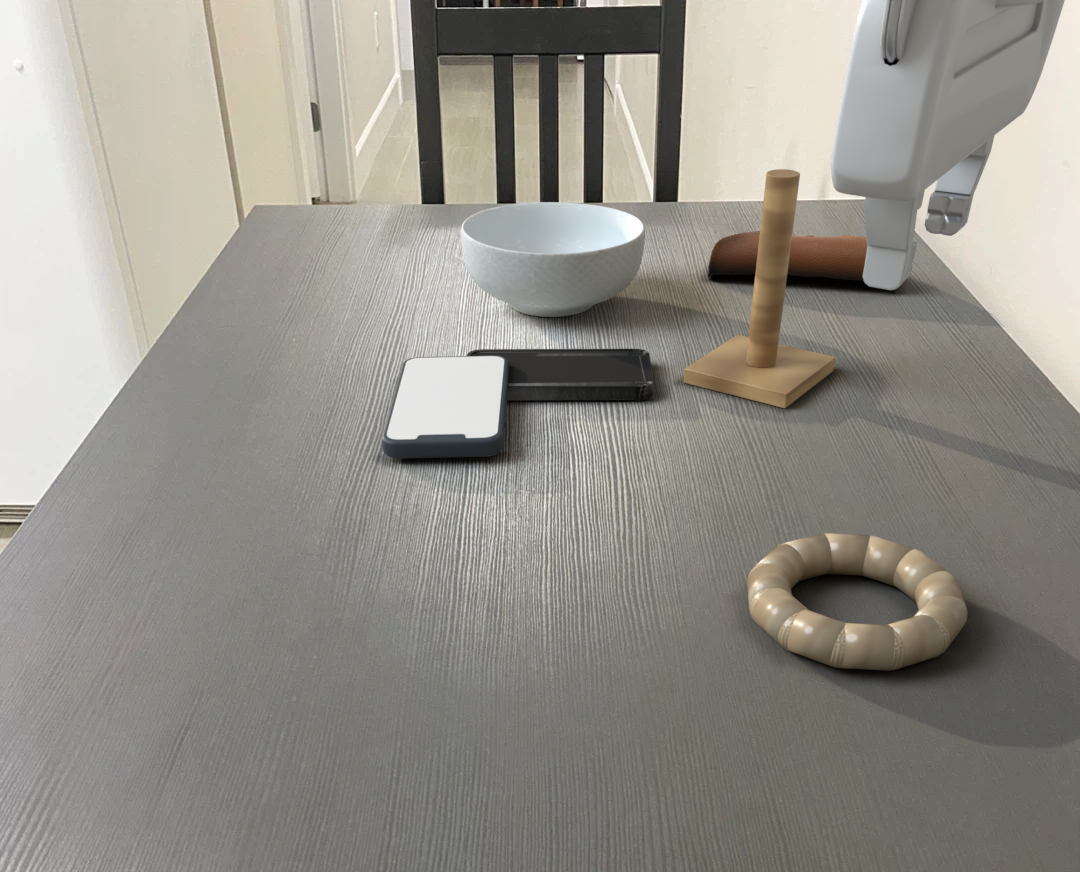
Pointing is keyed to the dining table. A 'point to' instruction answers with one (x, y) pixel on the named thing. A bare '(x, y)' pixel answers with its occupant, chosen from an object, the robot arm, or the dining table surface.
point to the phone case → (448, 408)
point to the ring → (852, 641)
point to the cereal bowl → (552, 255)
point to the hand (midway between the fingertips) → (916, 256)
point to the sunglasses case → (794, 256)
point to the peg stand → (766, 318)
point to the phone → (576, 373)
